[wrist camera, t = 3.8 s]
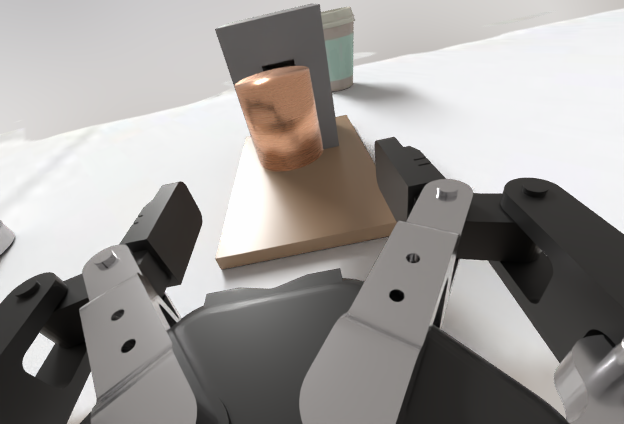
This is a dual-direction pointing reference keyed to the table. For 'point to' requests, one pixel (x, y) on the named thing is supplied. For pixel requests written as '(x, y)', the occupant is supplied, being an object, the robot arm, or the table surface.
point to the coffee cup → (339, 46)
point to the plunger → (281, 117)
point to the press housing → (306, 180)
